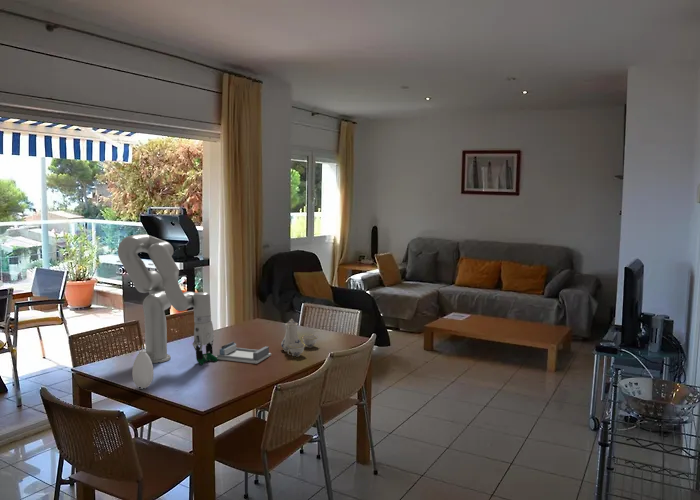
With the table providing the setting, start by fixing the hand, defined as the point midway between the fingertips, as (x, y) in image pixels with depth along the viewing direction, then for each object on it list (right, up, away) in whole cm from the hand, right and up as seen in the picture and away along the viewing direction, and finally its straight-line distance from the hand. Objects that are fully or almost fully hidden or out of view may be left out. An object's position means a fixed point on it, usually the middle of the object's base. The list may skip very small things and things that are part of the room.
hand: (204, 356), depth 262 cm
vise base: (+17, -2, +8) cm, 19 cm away
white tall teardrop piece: (-15, -6, -37) cm, 41 cm away
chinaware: (+41, -1, +21) cm, 46 cm away
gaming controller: (+1, -3, -1) cm, 3 cm away
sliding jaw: (+9, 0, +10) cm, 14 cm away
